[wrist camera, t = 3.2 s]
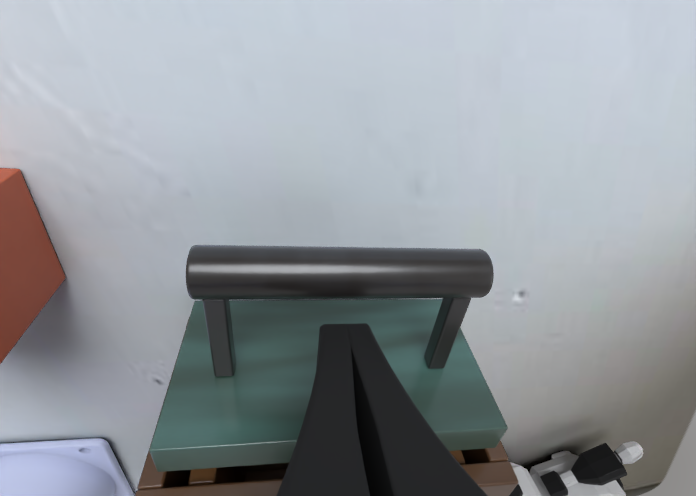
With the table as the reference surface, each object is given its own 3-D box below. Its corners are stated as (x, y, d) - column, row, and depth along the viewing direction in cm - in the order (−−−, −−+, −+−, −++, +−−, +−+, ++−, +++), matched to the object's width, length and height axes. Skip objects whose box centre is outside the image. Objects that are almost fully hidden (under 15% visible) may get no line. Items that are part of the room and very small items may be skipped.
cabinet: (189, 316, 16) (127, 517, 10) (444, 312, 18) (520, 482, 12) (219, 468, 24) (193, 634, 18) (395, 455, 25) (426, 602, 19)
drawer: (174, 189, 12) (97, 325, 7) (480, 200, 13) (578, 317, 9) (223, 460, 22) (204, 591, 17) (396, 448, 23) (422, 565, 18)
